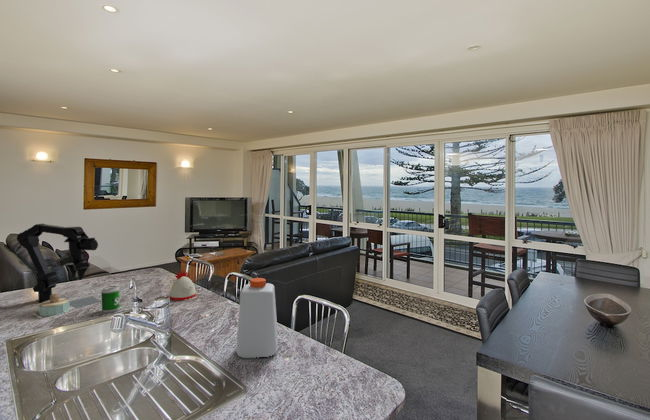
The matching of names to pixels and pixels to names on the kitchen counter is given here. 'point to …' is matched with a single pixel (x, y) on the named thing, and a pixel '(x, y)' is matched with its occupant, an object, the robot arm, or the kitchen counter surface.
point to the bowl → (54, 309)
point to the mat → (84, 302)
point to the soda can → (110, 299)
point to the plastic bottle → (257, 320)
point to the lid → (54, 301)
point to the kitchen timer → (182, 287)
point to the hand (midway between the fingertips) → (76, 278)
